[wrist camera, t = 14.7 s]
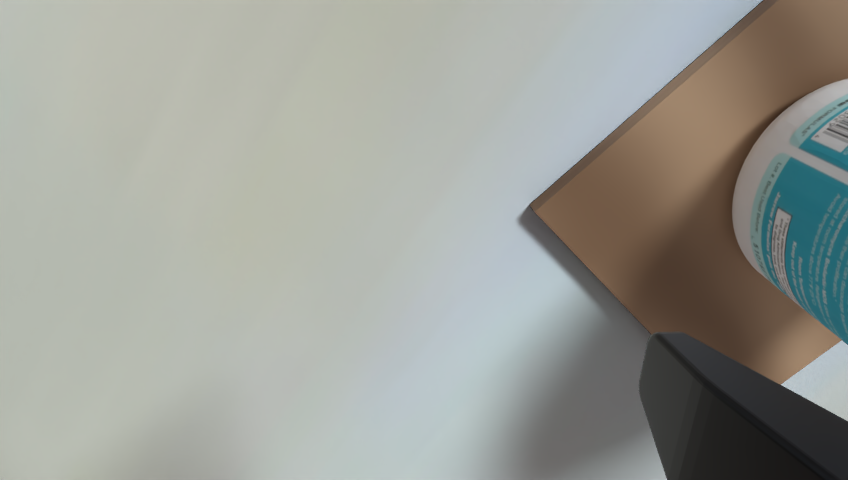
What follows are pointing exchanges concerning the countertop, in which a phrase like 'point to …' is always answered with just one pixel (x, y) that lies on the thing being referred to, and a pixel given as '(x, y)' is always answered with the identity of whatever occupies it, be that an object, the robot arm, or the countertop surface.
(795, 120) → the pill bottle
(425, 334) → the countertop surface
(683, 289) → the walnut board
